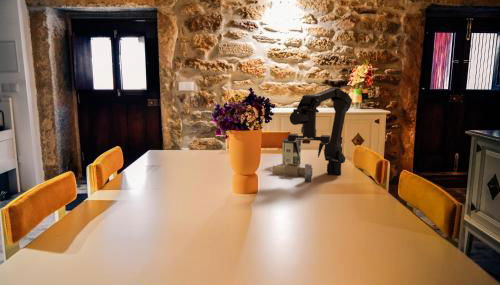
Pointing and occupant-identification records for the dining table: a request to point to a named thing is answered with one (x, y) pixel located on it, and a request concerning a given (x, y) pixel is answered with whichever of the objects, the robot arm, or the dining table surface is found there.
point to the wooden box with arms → (290, 170)
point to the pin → (308, 172)
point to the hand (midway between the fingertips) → (308, 156)
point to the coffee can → (290, 153)
